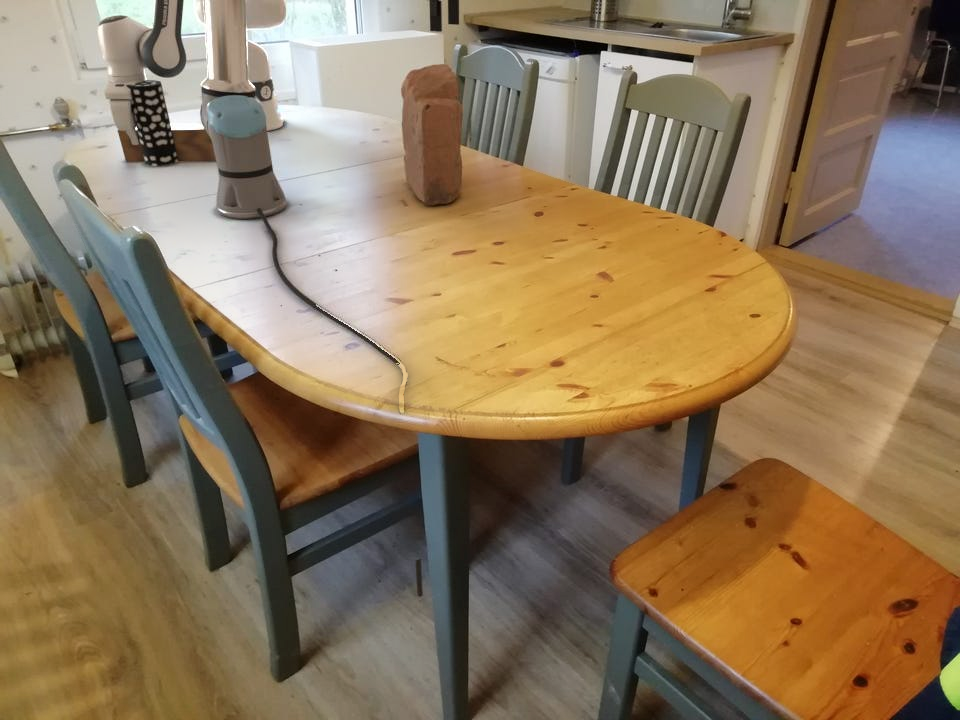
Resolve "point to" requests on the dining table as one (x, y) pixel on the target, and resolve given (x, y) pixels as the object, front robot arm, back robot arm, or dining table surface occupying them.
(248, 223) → the dining table surface
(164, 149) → the black white spotted cylinder
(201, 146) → the box
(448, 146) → the stone
